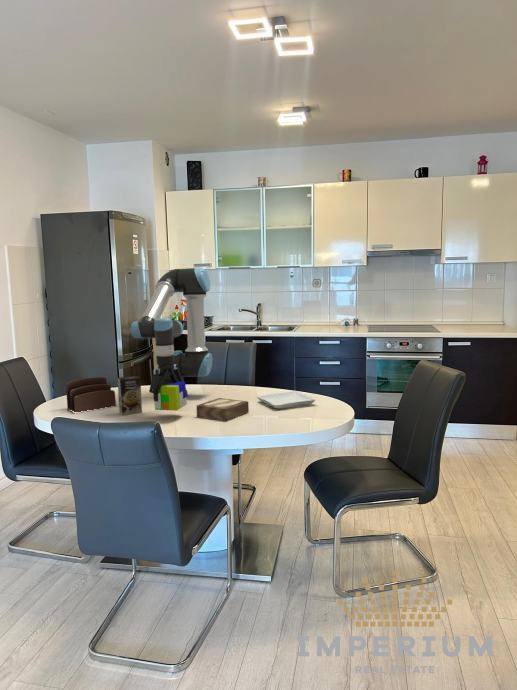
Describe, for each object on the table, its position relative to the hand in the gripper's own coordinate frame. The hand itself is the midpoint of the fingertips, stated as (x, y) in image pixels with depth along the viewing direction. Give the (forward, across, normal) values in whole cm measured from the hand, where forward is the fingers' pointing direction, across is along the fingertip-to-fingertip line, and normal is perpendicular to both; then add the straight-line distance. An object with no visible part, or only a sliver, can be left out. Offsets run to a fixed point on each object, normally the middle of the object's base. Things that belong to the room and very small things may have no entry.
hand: (168, 405), depth 218 cm
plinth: (+6, +14, -18) cm, 24 cm away
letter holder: (+6, -4, +46) cm, 46 cm away
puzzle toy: (+1, 0, -1) cm, 2 cm away
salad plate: (+7, +44, -32) cm, 55 cm away
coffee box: (+6, -2, +22) cm, 23 cm away
